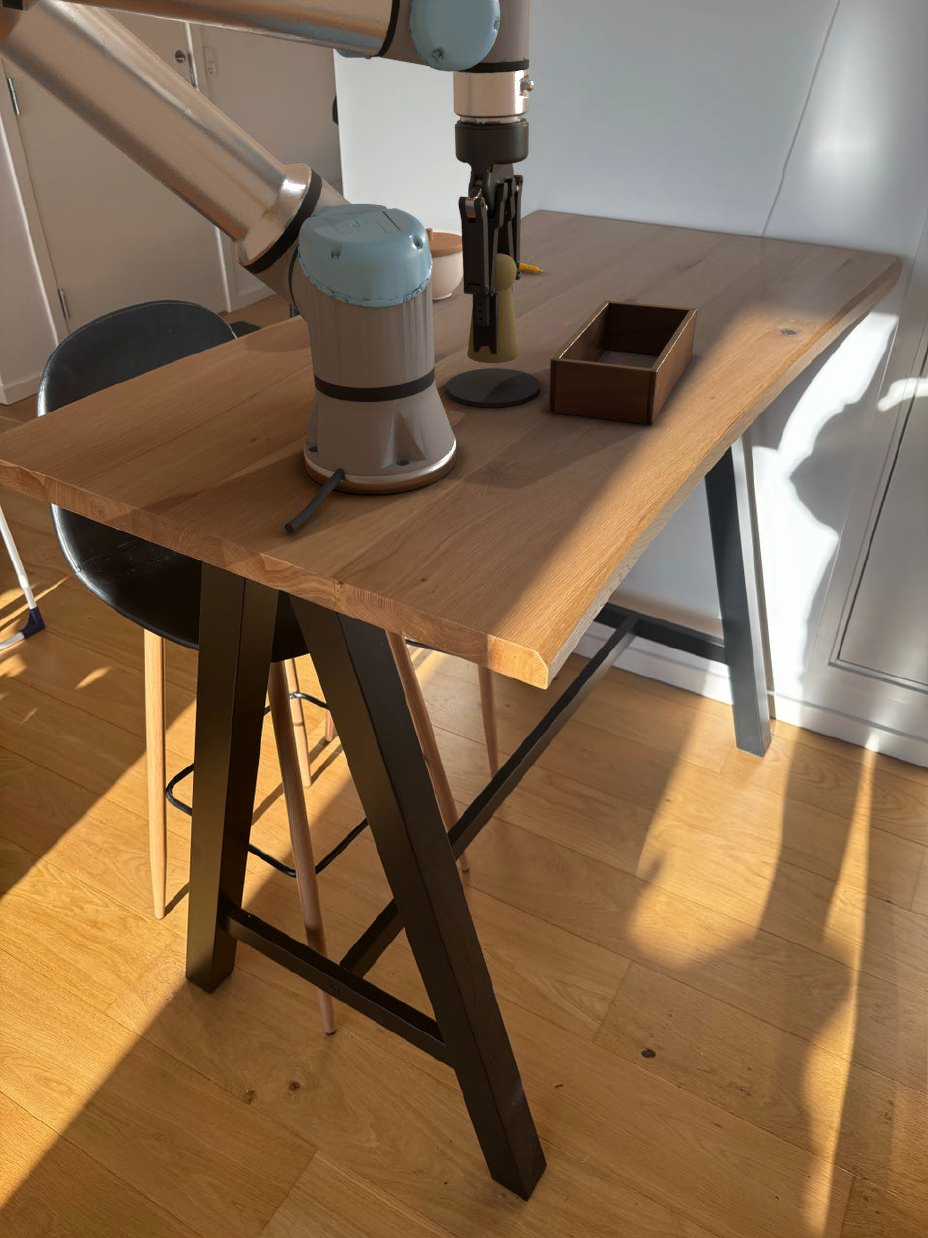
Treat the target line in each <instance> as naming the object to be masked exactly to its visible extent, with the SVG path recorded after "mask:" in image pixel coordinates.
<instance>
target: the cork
mask: <svg viewBox="0 0 928 1238" xmlns="http://www.w3.org/2000/svg"><path fill="white" fill-rule="evenodd" d="M516 272H517V269H516V264H515V262H514V260H513V259H512V258H511V257H510V256H508V255H505V254H500V253H497V260H496V276H495V292H494V293H498V338H497V354H491V352H490V349H489V347H488V346H481V347H480V350H479V352H474V343H473V307H472V309H471V319H470V328H469V335H468V337H469V338H468V344H467V345H468V346H467V357H468V359H470V360H472V361H474V362H477V363H480V364H481V363H482V364H502V363H503V364H504V363H508V362H511V361H514V360H516V359H518V357H520V353H521V352H520V345H519V344H520V343H519V336H518V327H517V319H516V312H515V305H514V295H512V287H511V286H512V285H514V283H515V282H516V280H515V278H516Z"/></svg>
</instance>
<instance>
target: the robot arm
mask: <svg viewBox="0 0 928 1238" xmlns="http://www.w3.org/2000/svg"><path fill="white" fill-rule="evenodd" d="M108 10H109V11H116V12H123V13H127V14H133V15H139V16H143V17H144V16H145V17H149V18H157V19H161V20H168V21H172V22H179V23H184V24H190V25H195V26H201V27H208V28H212V29H219V30H225V31H230V32H234V33H235V32H236V33H241V34H248V35H252V36H258V37H264V38H270V39H275V40H282V41H287V42H294V43H298V44H305V45H311V46H315V47H321V48H327V49H333V50H335V51H336V52H337V53H338V55H340V56H341V57H343V58H347V59H357V58H358V59H365V60H371V59H372V58H381V59H386V60H392V61H397V62H402V63H403V62H404V63H408V64H414V65H420V66H425V67H429V68H431V69H432V70H436V71H440V72H449V73H451V72H452V73H453V74H452V84H453V85H452V87H453V89H452V90H453V113H454V114H455V115H456V116H457V117H459V119H458V120H457V121H456V123H455V124H454V146H455V147H454V149H455V150H454V151H455V157H456V160H457V161H458V162H460V163H463V164H467V165H469V167H470V175H469V182H468V189H467V196H461V195H460V196H459V197H458V200H457V201H458V202H457V205H458V211H459V216H460V217H459V218H460V224H461V225H460V227H461V228H460V229H461V236H462V255H463V277H462V280H463V281H462V282H463V294H465V295H472V308H473V343H474V352H479V350H480V347H481V346H488V347H489V349H490V352H491V354H497V338H498V293H494V292H495V276H496V260H497V253H500V254H505V255H508V256H510V257H511V258H512V259H513V260H514V262H515V264H516V278H515V281H520V280H521V277H522V271H519V270H518V269H519V267H520V263H521V226H522V225H521V224H522V223H521V219H522V218H521V217H522V216H521V215H522V195H523V193H522V192H523V187H524V186H523V185H524V176H523V174H515V170H514V164H516V163H521V162H523V161H525V160H527V158H528V156H529V150H530V149H529V147H530V146H529V144H530V143H529V136H530V135H529V134H530V123H529V121H528V119H527V118H525V117H523V115H525V114H527V113H528V111H529V104H530V103H529V100H530V96H529V94H530V93H529V92H532V91H534V87H535V84H534V82H533V81H532V80H530V79H529V77H530V32H531V31H530V30H531V28H530V25H531V0H0V59H1V60H2V61H4V62H6V64H8V65H9V66H10V67H12V68H13V69H14V70H16V71H17V72H18V73H19V74H21V76H23V77H24V78H26V79H27V80H29V81H30V82H31V83H32V84H34V85H35V86H36V87H37V88H39V89H40V90H41V91H42V92H44V93H45V94H46V95H47V96H49V97H50V98H52V99H53V100H54V101H55V102H57V104H59V105H60V106H62V107H63V108H64V109H65V110H67V111H68V112H69V113H71V114H72V116H74V117H76V118H77V119H78V120H79V121H81V122H82V123H83V124H85V126H87V127H89V128H90V129H91V130H92V131H93V132H95V133H96V134H97V135H99V136H100V137H101V138H102V139H104V140H105V141H106V142H107V143H108V144H110V145H111V146H112V147H114V148H115V149H116V150H118V152H120V153H122V154H123V155H124V156H125V157H126V158H128V159H129V160H130V161H132V162H133V163H134V164H136V165H137V166H138V167H139V168H140V169H142V170H143V171H145V172H146V173H147V174H148V175H149V176H151V177H152V178H153V179H155V180H156V181H157V182H159V184H161V185H162V186H164V187H165V188H166V189H168V190H169V191H170V192H171V193H172V194H174V195H175V196H176V197H178V198H179V199H181V201H183V202H184V203H185V204H186V205H188V206H189V207H191V208H192V209H193V210H194V211H196V212H197V213H198V214H199V215H201V216H202V217H203V218H204V219H206V220H207V221H208V222H210V223H211V224H212V225H213V226H215V227H216V228H217V229H219V231H221V232H222V233H224V234H225V235H226V236H227V237H228V238H230V241H231V243H232V249H233V252H234V253H233V254H234V260H235V262H236V263H237V264H238V265H240V266H241V267H242V268H243V269H245V270H246V271H248V272H249V273H250V275H253V277H255V278H257V279H258V280H259V281H260V282H261V283H263V284H264V285H265V286H267V287H268V288H269V289H271V290H272V291H273V292H274V293H276V294H277V295H278V296H280V298H282V299H284V300H285V301H286V302H287V303H288V304H290V305H291V306H292V307H293V308H294V309H295V310H296V311H297V312H298V314H299V315H300V317H301V318H302V319H303V320H304V321H305V323H306V325H307V329H308V336H309V346H310V353H311V362H312V371H313V379H314V390H315V393H314V398H313V404H312V408H311V411H310V417H309V422H308V426H307V432H306V435H305V440H304V445H303V457H304V465H305V469H306V473H307V474H308V475H309V476H310V478H311V479H313V480H314V481H315V482H317V483H318V484H320V485H322V486H321V488H320V489H319V490H318V491H317V492H316V494H315V495H314V496H313V497H312V499H311V500H310V502H309V503H308V504H307V505H306V506H305V507H304V508H303V510H302V511H301V512H300V513H299V514H297V515H296V516H295V517H294V518H292V519H291V520H289V521H288V522H286V524H285V525H284V530H285V531H286V532H287V533H289V534H293V533H294V532H295V531H297V530H298V529H299V528H301V527H303V526H304V524H305V523H306V522H308V521H309V520H310V519H311V518H313V516H314V514H315V513H317V511H318V510H319V508H320V507H321V506H322V504H323V503H324V502H325V500H326V499H327V498H328V497H329V496H330V495H331V493H332V492H333V491H334V490H337V491H340V492H345V493H351V494H361V495H383V494H384V495H386V494H395V493H400V492H401V493H402V492H407V491H410V490H414V489H418V488H422V487H425V486H428V485H429V484H432V483H434V482H436V481H438V480H440V479H442V478H443V477H445V476H447V474H448V473H449V472H450V471H452V469H453V468H454V466H455V465H456V462H457V441H456V436H455V434H454V431H453V429H452V426H451V423H450V420H449V418H448V415H447V412H446V410H445V407H444V405H443V401H442V399H441V397H440V394H439V391H438V389H437V385H436V372H435V371H436V369H435V339H434V338H435V337H434V311H433V309H434V307H433V300H432V276H431V275H432V269H433V261H432V259H431V257H432V256H431V253H430V250H429V240H428V235H427V232H426V230H425V229H426V228H425V226H424V224H423V223H422V222H421V221H420V220H419V219H418V218H416V216H414V215H412V214H411V213H409V212H407V211H405V210H402V209H400V208H396V207H394V208H388V206H386V205H382V204H375V203H374V204H373V203H351V202H350V201H349V200H348V199H346V198H345V197H344V196H343V195H342V194H341V193H340V192H339V191H338V190H336V189H335V188H334V187H333V186H332V185H330V184H329V183H328V182H327V181H326V180H325V179H324V178H323V177H322V176H320V175H319V174H318V173H317V172H316V171H314V169H313V168H311V166H309V165H308V164H306V163H305V162H300V163H291V164H290V163H289V164H284V163H282V162H280V161H279V160H278V159H277V158H276V157H274V155H272V154H271V153H270V152H269V150H268V151H267V149H266V148H264V147H263V146H262V145H261V144H260V143H259V142H257V141H256V140H255V139H254V138H253V137H252V136H251V135H250V134H248V133H247V132H246V131H245V130H244V129H242V127H240V126H239V125H238V124H237V123H236V122H234V121H233V120H232V119H231V118H230V117H229V116H227V114H225V113H224V112H223V111H222V110H221V109H219V107H217V106H216V105H215V104H214V103H213V102H212V101H210V99H208V98H207V97H205V95H204V94H203V93H201V92H200V91H199V90H198V89H197V88H196V87H194V86H193V85H192V84H191V83H190V82H189V81H187V79H185V77H183V76H182V75H181V74H179V73H178V72H177V71H176V70H175V69H174V68H173V67H172V66H170V65H169V64H168V63H167V62H166V61H164V60H163V58H161V57H160V56H159V55H157V54H156V52H155V51H153V50H152V49H151V48H150V47H149V46H148V45H146V44H145V43H144V42H143V41H142V40H140V38H138V37H137V36H136V35H135V34H134V33H133V32H131V31H130V30H129V29H128V28H127V27H126V26H124V25H123V23H121V22H120V21H119V20H118V19H117V18H115V17H114V16H113V15H112V14H110V13H109V12H108ZM513 285H514V284H513ZM513 285H512V286H511V287H512V295H513V294H514V293H513V292H514V289H513V287H514V286H513ZM513 296H514V295H513Z"/></svg>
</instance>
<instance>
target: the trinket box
mask: <svg viewBox="0 0 928 1238" xmlns="http://www.w3.org/2000/svg"><path fill="white" fill-rule="evenodd" d="M425 230H426V232H427V235H428V240H429V250H430V253H431V256H432V257H431V259H432V261H433V269H432V275H431V276H432V301H438V300H444V299H447V298H449V297H451V296H452V295H453V292H454V291H455V290H456V289H457V287H458V286H459V285H460V284H461V282H462V280H463V255H462V235H459V234H457V233H451V232H443V231H433V228H432V227H428V228H427V227H426V228H425Z"/></svg>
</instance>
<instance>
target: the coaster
mask: <svg viewBox="0 0 928 1238" xmlns="http://www.w3.org/2000/svg"><path fill="white" fill-rule="evenodd" d="M540 391H541V383H540V381H539V380H538V378H537V377H536V376H534V375H532V374H530V373H527V372H524V371H521V370H516V369H511V368H502V367H501V368H499V367H490V368H478V369H472V370H467V371H464V372H460V373H458V374H456V375H454V376H453V377H451V378H450V379H448V380H447V382H446V385H445V392H446V394H447V396H448V397H449V398H450V399H451V400H453V401H455V402H457V403H460V404H462V405H466V406H471V407H477V408H506V407H508V408H509V407H513V406H514V407H515V406H519V405H521V404H525V403H527V402H530V401H532V400H533V399H535V398H536V397H537V396H538V395H539V394H540Z"/></svg>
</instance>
